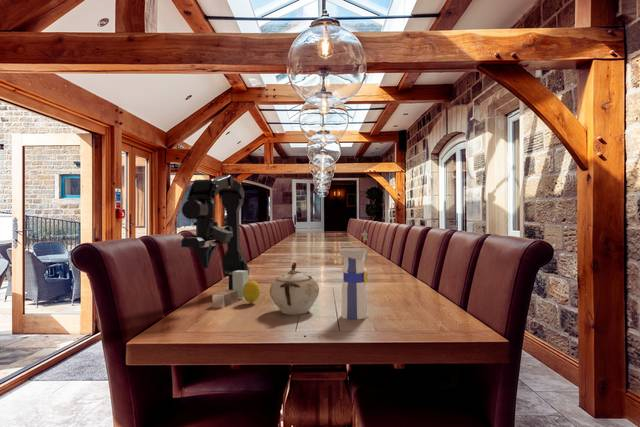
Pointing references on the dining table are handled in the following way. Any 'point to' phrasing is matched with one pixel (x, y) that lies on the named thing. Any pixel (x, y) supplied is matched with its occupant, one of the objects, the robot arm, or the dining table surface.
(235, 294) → the beige rectangular block
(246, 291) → the lemon
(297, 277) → the sugar bowl
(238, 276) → the sage block
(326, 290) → the dining table surface
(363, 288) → the white blue cross vase
